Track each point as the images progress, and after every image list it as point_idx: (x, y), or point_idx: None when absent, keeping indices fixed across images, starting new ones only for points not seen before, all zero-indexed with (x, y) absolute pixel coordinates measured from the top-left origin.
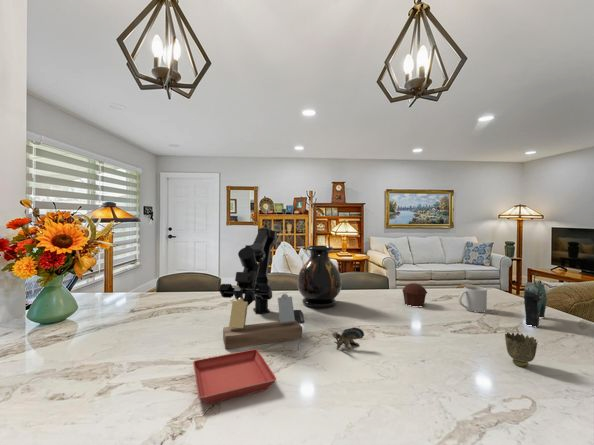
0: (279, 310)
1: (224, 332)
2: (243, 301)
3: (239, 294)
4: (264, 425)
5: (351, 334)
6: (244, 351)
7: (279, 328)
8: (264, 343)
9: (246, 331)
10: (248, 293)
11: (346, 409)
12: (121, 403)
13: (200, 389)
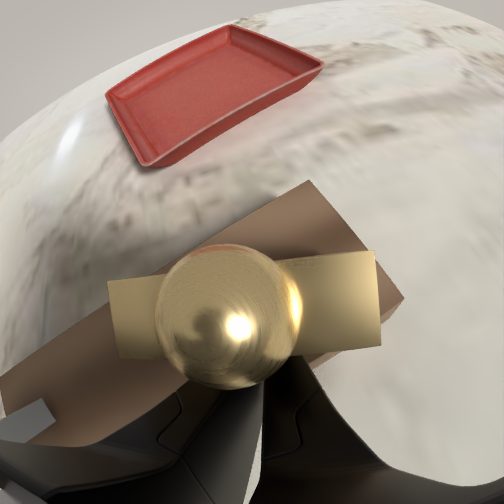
0: (6, 436)
1: (346, 224)
2: (154, 277)
3: (295, 496)
4: (138, 63)
5: None
6: (184, 139)
7: (57, 356)
8: None
9: None
10: (27, 449)
11: (43, 128)
12: (369, 22)
13: (249, 43)
